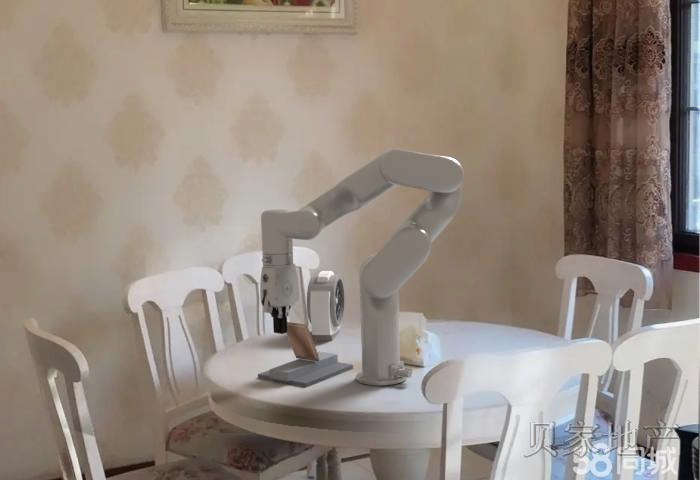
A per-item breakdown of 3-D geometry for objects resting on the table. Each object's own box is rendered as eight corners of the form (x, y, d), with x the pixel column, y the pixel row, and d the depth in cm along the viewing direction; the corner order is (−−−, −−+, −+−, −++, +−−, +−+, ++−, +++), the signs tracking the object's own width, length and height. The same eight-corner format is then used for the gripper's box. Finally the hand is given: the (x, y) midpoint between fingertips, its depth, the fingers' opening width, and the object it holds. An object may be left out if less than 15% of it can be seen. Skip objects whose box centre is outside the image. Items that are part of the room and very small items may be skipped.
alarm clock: (334, 343, 248) (332, 276, 245) (306, 343, 249) (304, 276, 247) (346, 330, 265) (344, 267, 263) (320, 329, 267) (318, 267, 264)
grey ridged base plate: (353, 368, 220) (352, 356, 220) (304, 388, 204) (303, 375, 204) (305, 360, 230) (305, 349, 229) (255, 379, 213) (254, 366, 213)
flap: (317, 362, 215) (319, 359, 216) (304, 327, 210) (307, 324, 211) (296, 359, 219) (298, 356, 220) (283, 324, 214) (285, 321, 215)
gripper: (269, 264, 198) (272, 340, 200) (308, 256, 210) (311, 328, 212) (245, 262, 202) (248, 337, 205) (285, 255, 214) (288, 325, 217)
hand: (280, 332), depth 208 cm, fingers closed
